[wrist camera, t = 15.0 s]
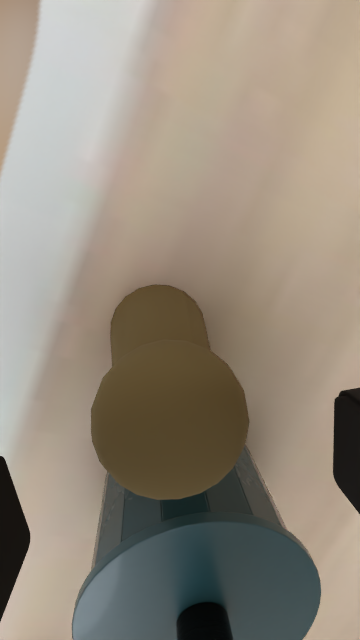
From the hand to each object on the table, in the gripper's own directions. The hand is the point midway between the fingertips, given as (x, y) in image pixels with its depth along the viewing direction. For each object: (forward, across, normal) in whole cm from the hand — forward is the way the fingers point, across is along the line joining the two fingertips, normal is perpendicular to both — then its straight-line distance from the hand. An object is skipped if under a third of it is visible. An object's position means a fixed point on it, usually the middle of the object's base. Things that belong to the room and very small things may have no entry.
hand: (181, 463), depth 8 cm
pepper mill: (+11, 0, 0) cm, 11 cm away
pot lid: (+3, 0, +11) cm, 11 cm away
